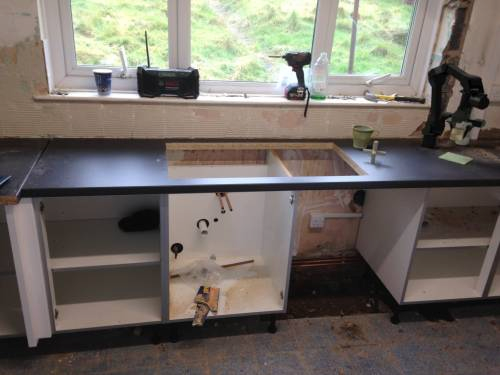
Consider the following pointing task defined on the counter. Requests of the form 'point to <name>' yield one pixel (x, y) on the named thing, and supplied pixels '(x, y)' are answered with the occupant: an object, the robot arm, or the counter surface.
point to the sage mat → (456, 158)
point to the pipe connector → (374, 152)
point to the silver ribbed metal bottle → (463, 126)
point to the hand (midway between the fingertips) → (457, 137)
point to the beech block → (457, 134)
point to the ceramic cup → (362, 136)
